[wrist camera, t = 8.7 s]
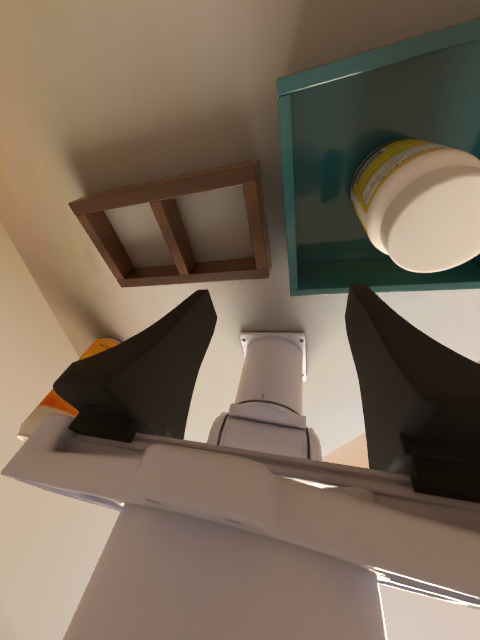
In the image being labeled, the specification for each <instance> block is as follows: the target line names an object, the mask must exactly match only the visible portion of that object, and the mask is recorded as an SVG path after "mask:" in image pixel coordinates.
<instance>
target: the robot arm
mask: <svg viewBox="0 0 480 640" xmlns="http://www.w3.org/2000/svg"><path fill="white" fill-rule="evenodd" d="M216 321H217V315H216V312H215V309H214V306H213V303H212V300H211V297H210V294H209V291H208V290H197V291H196V292H194V293H193V294H192V295H190V296H189V297H188V298H187V299H185V300H184V301H183V302H182V303H181V304H179V305H178V306H177V307H176V308H174V309H173V310H172V311H171V312H169V313H168V314H167V315H165V316H164V317H163V318H161V319H160V320H159V321H157V322H156V323H154V324H153V325H151V326H150V327H148V328H147V329H145V330H143V331H142V332H140V333H139V334H137V335H135V336H133V337H131V338H129V339H127V340H126V341H124V342H122V343H120V344H118V345H116V346H114V347H111V348H109V349H107V350H105V351H102V352H100V353H98V354H95V355H92V356H90V357H87V358H84V359H82V360H79V361H76V362H73V363H72V364H71V365H70V366H69V367H68V368H67V370H65V371H64V373H63V374H62V375H61V376H60V377H59V378H58V379H57V380H56V382H55V383H54V384H53V389H54V391H55V392H56V394H57V395H58V396H59V397H61V398H62V399H63V400H65V401H66V402H67V403H69V404H70V405H71V406H73V407H74V408H75V409H77V410H78V411H79V413H78V415H77V416H76V417H72V416H70V415H64V414H58V413H49V414H48V416H47V417H46V418H45V419H44V420H43V422H42V423H41V424H40V425H39V426H38V428H37V429H36V430H35V431H34V433H33V434H32V435H31V436H30V437H29V439H28V440H27V441H26V442H25V443H24V445H23V446H22V447H21V448H20V450H19V451H18V452H17V453H16V454H15V456H14V457H13V458H12V459H11V460H10V462H9V463H8V464H7V465H6V466H5V468H4V469H3V470H2V471H1V474H2V475H4V476H7V477H10V478H13V479H15V480H18V481H21V482H24V483H27V484H30V485H33V486H36V487H38V488H41V489H44V490H47V491H51V492H54V493H58V494H61V495H65V496H68V497H72V498H75V499H79V500H82V501H86V502H89V503H93V504H96V505H100V506H103V507H106V508H110V509H113V510H117V511H120V514H119V517H118V519H117V521H116V523H115V525H114V528H113V530H112V532H111V534H110V536H109V539H108V541H107V543H106V545H105V548H104V550H103V552H102V554H101V557H100V559H99V561H98V563H97V565H96V567H95V570H94V572H93V574H92V576H91V579H90V581H89V583H88V585H87V587H86V590H85V592H84V594H83V597H82V599H81V601H80V603H79V605H78V607H77V610H76V612H75V614H74V617H73V619H72V621H71V623H70V625H69V627H68V630H67V632H66V634H65V636H64V638H63V640H387V634H386V627H385V622H384V615H383V609H382V602H381V596H380V589H379V584H383V585H386V586H390V587H394V588H398V589H402V590H406V591H409V592H413V593H417V594H421V595H425V596H428V597H433V598H436V599H440V600H444V601H448V602H452V603H455V604H460V605H464V606H467V607H471V608H475V609H479V610H480V364H478V363H476V362H474V361H472V360H470V359H468V358H466V357H464V356H462V355H460V354H458V353H456V352H454V351H453V350H451V349H449V348H447V347H446V346H444V345H442V344H440V343H439V342H437V341H435V340H434V339H432V338H430V337H429V336H427V335H426V334H424V333H423V332H421V331H420V330H418V329H417V328H415V327H414V326H413V325H411V324H410V323H409V322H407V321H406V320H405V319H403V318H402V317H401V316H400V315H398V314H397V313H396V312H395V311H394V310H392V309H391V308H390V307H389V306H388V305H387V304H386V303H385V302H384V301H383V300H381V299H380V298H379V297H378V296H377V295H376V294H375V293H374V292H373V291H372V290H371V289H370V288H369V287H368V286H367V285H366V284H365V283H350V287H349V293H348V300H347V307H346V313H345V321H346V330H347V336H348V340H349V344H350V348H351V351H352V355H353V359H354V363H355V366H356V370H357V374H358V379H359V385H360V391H361V398H362V406H363V414H364V421H365V430H366V439H367V448H368V459H369V469H367V468H361V467H354V466H347V465H341V464H335V463H329V462H322V456H321V446H320V441H319V438H318V436H317V435H316V434H315V432H314V430H313V429H312V428H308V427H306V417H305V416H302V381H305V380H306V336H305V334H304V333H283V332H242V333H240V335H239V337H240V341H241V344H242V348H243V351H244V355H245V361H244V366H243V370H242V374H241V379H240V383H239V387H238V392H237V396H236V400H235V404H231V405H230V409H229V413H225V412H223V413H221V414H220V416H218V417H217V418H216V419H215V421H214V423H213V425H212V427H211V430H210V433H209V437H208V441H207V443H200V442H194V441H187V440H183V439H184V433H185V427H186V421H187V417H188V412H189V407H190V402H191V398H192V394H193V390H194V386H195V382H196V379H197V375H198V372H199V369H200V366H201V363H202V361H203V358H204V356H205V353H206V351H207V348H208V346H209V343H210V341H211V338H212V336H213V333H214V329H215V325H216ZM243 338H244V339H243ZM300 339H302V340H300Z"/></svg>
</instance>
